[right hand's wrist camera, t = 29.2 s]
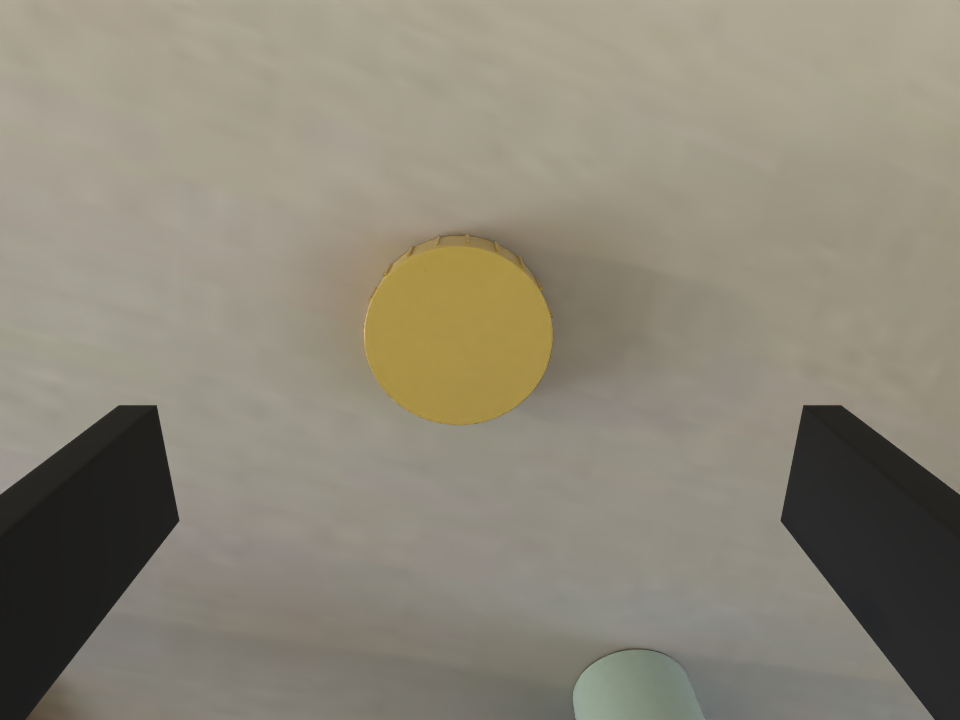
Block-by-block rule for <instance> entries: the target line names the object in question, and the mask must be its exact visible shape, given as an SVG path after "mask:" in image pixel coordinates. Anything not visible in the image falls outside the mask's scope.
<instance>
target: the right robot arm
mask: <svg viewBox="0 0 960 720" xmlns="http://www.w3.org/2000/svg"><path fill="white" fill-rule="evenodd" d="M178 522H179V516H178V511H177V506H176V501H175V496H174V491H173V486H172V481H171V476H170V471H169V466H168V461H167V456H166V451H165V446H164V440H163V435H162V430H161V425H160V420H159V415H158V410H157V405H119V406H117V407H116V408H115V409H113V410H112V411H111V412H109V413H108V414H107V415H105V416H104V417H103V418H101V419H100V420H99V421H97V422H96V423H95V424H94V425H92V426H91V427H90V428H88V429H87V430H86V431H84V432H83V433H82V434H80V435H79V436H78V437H76V438H75V439H74V440H72V441H71V442H70V443H68V444H67V445H66V446H64V447H63V448H62V449H60V450H59V451H58V452H56V453H55V454H54V455H52V456H51V457H50V458H48V459H47V460H46V461H44V462H43V463H42V464H40V465H39V466H38V467H36V468H35V469H34V470H33V471H31V472H30V473H29V474H27V475H26V476H25V477H23V478H22V479H21V480H19V481H18V482H17V483H15V484H14V485H13V486H11V487H10V488H9V489H7V490H6V491H5V492H3V493H2V494H1V495H0V720H25V719H26V718H27V717H28V715H29V714H30V713H31V711H32V710H33V709H34V708H35V706H36V705H37V704H38V702H39V701H40V700H41V699H42V697H43V696H44V695H45V693H46V692H47V691H48V690H49V688H50V687H51V686H52V684H53V683H54V682H55V681H56V679H57V678H58V677H59V675H60V674H61V673H62V671H63V670H64V669H65V668H66V666H67V665H68V664H69V662H70V661H71V660H72V659H73V657H74V656H75V655H76V653H77V652H78V651H79V650H80V648H81V647H82V646H83V644H84V643H85V642H86V641H87V639H88V638H89V637H90V635H91V634H92V633H93V632H94V630H95V629H96V628H97V626H98V625H99V624H100V622H101V621H102V620H103V619H104V617H105V616H106V615H107V613H108V612H109V611H110V610H111V608H112V607H113V606H114V604H115V603H116V602H117V601H118V599H119V598H120V597H121V595H122V594H123V593H124V592H125V590H126V589H127V588H128V586H129V585H130V584H131V582H132V581H133V580H134V579H135V577H136V576H137V575H138V573H139V572H140V571H141V570H142V568H143V567H144V566H145V564H146V563H147V562H148V561H149V559H150V558H151V557H152V555H153V554H154V553H155V552H156V550H157V549H158V548H159V546H160V545H161V544H162V543H163V541H164V540H165V539H166V537H167V536H168V535H169V533H170V532H171V531H172V530H173V528H174V527H175V526H176V524H177V523H178ZM781 522H782V523H783V524H784V526H785V527H786V528H787V530H788V531H789V532H790V533H791V535H792V536H793V537H794V539H795V540H796V541H797V543H798V544H799V545H800V546H801V548H802V549H803V550H804V552H805V553H806V554H807V555H808V557H809V558H810V559H811V561H812V562H813V563H814V564H815V566H816V567H817V568H818V570H819V571H820V572H821V573H822V575H823V576H824V577H825V579H826V580H827V581H828V582H829V584H830V585H831V586H832V588H833V589H834V590H835V592H836V593H837V594H838V595H839V597H840V598H841V599H842V601H843V602H844V603H845V604H846V606H847V607H848V608H849V610H850V611H851V612H852V613H853V615H854V616H855V617H856V619H857V620H858V621H859V622H860V624H861V625H862V626H863V628H864V629H865V630H866V632H867V633H868V634H869V635H870V637H871V638H872V639H873V641H874V642H875V643H876V644H877V646H878V647H879V648H880V650H881V651H882V652H883V653H884V655H885V656H886V657H887V659H888V660H889V661H890V662H891V664H892V665H893V666H894V668H895V669H896V670H897V671H898V673H899V674H900V675H901V677H902V678H903V679H904V681H905V682H906V683H907V684H908V686H909V687H910V688H911V690H912V691H913V692H914V693H915V695H916V696H917V697H918V699H919V700H920V701H921V702H922V704H923V705H924V706H925V708H926V709H927V710H928V711H929V713H930V714H931V715H932V717H933V718H934V719H935V720H960V495H959V494H958V493H957V492H955V491H954V490H953V489H951V488H950V487H949V486H947V485H946V484H945V483H943V482H942V481H941V480H939V479H938V478H937V477H935V476H934V475H933V474H931V473H930V472H929V471H927V470H926V469H925V468H924V467H922V466H921V465H920V464H918V463H917V462H916V461H914V460H913V459H912V458H910V457H909V456H908V455H906V454H905V453H904V452H902V451H901V450H900V449H898V448H897V447H896V446H894V445H893V444H892V443H890V442H889V441H888V440H886V439H885V438H884V437H882V436H881V435H880V434H878V433H877V432H876V431H874V430H873V429H872V428H870V427H869V426H868V425H866V424H865V423H864V422H863V421H861V420H860V419H859V418H857V417H856V416H855V415H853V414H852V413H851V412H849V411H848V410H847V409H845V408H844V407H843V406H841V405H803V410H802V415H801V420H800V425H799V430H798V435H797V440H796V446H795V451H794V456H793V461H792V466H791V471H790V476H789V481H788V486H787V491H786V496H785V501H784V506H783V511H782V516H781Z"/></svg>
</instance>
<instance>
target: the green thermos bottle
mask: <svg viewBox="0 0 960 720" xmlns="http://www.w3.org/2000/svg"><path fill="white" fill-rule="evenodd" d="M573 707H574V713H575V718H576V720H706V719H705V717H704V714H703V712H702V709H701V707H700V705H699V702H698V700H697V697H696V695H695V692H694V690H693V687H692V685H691V682H690V680H689V677H688V675H687V673H686V671H685V670H684V669H683V667H682V666H681V665H680V664H679V663H677V662H676V661H675V660H674V659H672V658H670V657H669V656H667V655H664V654H662V653H659V652H655V651H650V650H641V649H636V650H625V651H620V652H616V653H613V654H610V655H607V656H605V657H603V658H601V659H599V660H598V661H596V662H594V663H593V664H592V665H590V666H589V667H588V668H587V669H586V670H585V671H584V672H583V673H582V675H581V676H580V677H579V679H578V681H577V682H576V685H575V687H574V691H573Z"/></svg>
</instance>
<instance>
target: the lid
mask: <svg viewBox="0 0 960 720" xmlns="http://www.w3.org/2000/svg"><path fill="white" fill-rule="evenodd" d="M542 290H543V289H542V286H541V284H540V282H539V280H538V278H534V276H533V275H532V273H531V272H530V271H529V269H528V268H527V267H526V265H525V264H524V263H523V261H522V258H521V257H520V256H518V257H516V256H515V255H514V254H512V253H511V252H510V251H508V250H507V249H505V248H503V247H502V246H500V245H498V242H497V241H494V243H493V242H491V241H488V240H485V239H481V238H478V237H471V236H469V234H466V236H446V237H440V235H439V236H437V237H436V239H432V240H429V241H427V242H424V243H422V244H419V245H417V246H416V247H413V246H411V247H410V248H409V250H408V252H406V253H405V254H404V255H402V256H401V257H400V258H399V259H398V260H397V261H396V262H395V263H394V264H393V265H392V264H390V265H389V266H388V268H387V270H386V271H385V273H384V277H383V279H382V281H381V283H380V285H379V286H378V288H377V287H376V288H375V290H374V291H373V293H372V295H371V297H370V298H369V301H371V302H370V305H369V307H368V310H367V314H366V319H365V324H364V327H363V329H364V346H365V351H366V356H367V359H368V362H369V365H370V368H371V370H372V372H373V374H374V376H375V378H376V380H377V381H378V383H379V384H380V385H381V387H382V388H383V390H384V391H385V392H386V393H387V394H388V395H389V396H390V397H391V398H392V399H393V400H394V401H395V402H396V403H398V404H399V405H400V406H402V407H403V408H404V409H406V410H407V411H409V412H411V413H413V414H415V415H417V416H419V417H421V418H424V419H427V420H429V421H433V422H437V423H441V424H450V425H468V424H476V423H480V422H485V421H488V420H491V419H494V418H496V417H499V416H501V415H503V414H505V413H507V412H509V411H510V410H512V409H513V408H515V407H516V406H518V405H519V404H520V403H521V402H522V401H523V400H525V399H526V398H527V397H528V396H529V395H530V393H531V392H532V391H533V390H534V389H535V388H536V386H537V385H538V383H539V382H540V380H541V378H542V376H543V374H544V372H545V370H546V368H547V365H548V362H549V359H550V356H551V351H552V345H553V329H552V320H551V318H552V313H551V311H550V309H549V307H548V305H547V303H546V301H545V298H544V296H543V294H542V292H541V291H542Z"/></svg>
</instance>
